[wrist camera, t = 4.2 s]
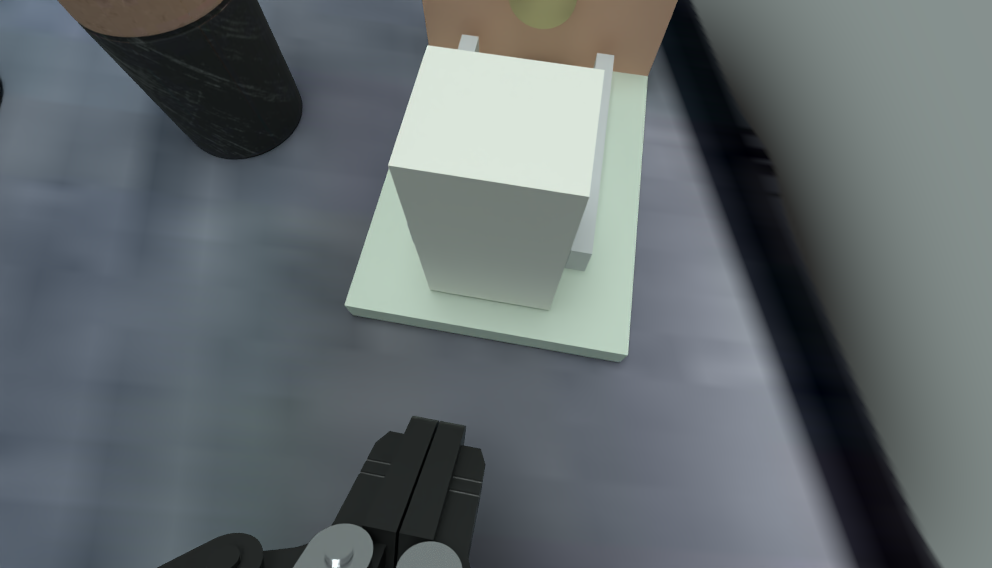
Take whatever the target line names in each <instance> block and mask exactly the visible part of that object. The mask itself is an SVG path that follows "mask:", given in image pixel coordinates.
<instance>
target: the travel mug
mask: <svg viewBox="0 0 992 568" xmlns="http://www.w3.org/2000/svg"><path fill="white" fill-rule="evenodd" d="M58 1H59V3H60V4H61V5H62V6H63V7H64V8H65V9H66V10H67V11H68V13H69V14H70V15H71V16H72V17H73V18H74V19H75V20H76V21H77V22H78V23H79V24H80V25H81V26H82V27H83V28H84V29H85V30H86V31H87V33H88V34H89V35H90V36H91V37H92V38H93V39H94V40H95V41H96V42H97V43H98V44H99V45H100V46H101V47H102V48H103V49H104V50H105V51H106V52H107V53H108V54H109V55H110V56H111V57H112V58H113V59H114V60H115V62H116V63H117V64H118V65H119V66H120V67H121V68H122V69H123V70H124V71H125V72H126V73H127V74H128V75H129V76H130V77H131V78H132V79H133V80H134V81H135V82H136V83H137V84H138V85H139V86H140V87H141V88H142V89H143V91H144V92H145V93H146V94H147V95H148V96H149V97H150V98H151V99H152V100H153V101H154V102H155V103H156V104H157V105H158V106H159V107H160V108H161V109H162V110H163V111H164V112H165V113H166V114H167V115H168V116H169V117H170V118H171V120H172V121H173V122H174V123H175V124H176V125H177V126H178V127H179V128H180V129H181V130H182V131H183V132H184V133H185V134H186V135H187V136H188V137H189V138H190V139H191V140H192V141H193V142H194V143H195V144H196V145H197V146H199V147H200V148H201V149H203V150H204V151H206V152H208V153H210V154H212V155H215V156H218V157H223V158H231V159H239V158H248V157H252V156H256V155H259V154H262V153H264V152H267V151H269V150H271V149H273V148H274V147H276V146H278V145H279V144H280V143H282V142H283V141H284V140H285V139H286V138H288V137H289V135H290V134H291V133H292V132H293V131H294V129H295V128H296V126H297V124H298V122H299V120H300V117H301V112H302V102H301V97H300V94H299V91H298V89H297V86H296V84H295V82H294V79H293V77H292V75H291V73H290V70H289V68H288V66H287V64H286V62H285V60H284V57H283V55H282V53H281V51H280V49H279V46H278V44H277V42H276V40H275V38H274V36H273V33H272V31H271V29H270V27H269V25H268V22H267V20H266V18H265V16H264V14H263V12H262V9H261V7H260V5H259V3H258V1H257V0H58Z"/></svg>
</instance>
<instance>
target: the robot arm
mask: <svg viewBox="0 0 992 568" xmlns="http://www.w3.org/2000/svg"><path fill="white" fill-rule="evenodd" d="M0 90H1V89H0ZM465 432H466V426H464V425H459V424H453V423H448V422H443V421H440V423H439V421H437V420H432V419H427V418H422V417H417V416H413V417H412V418H411V420H410V422H409V424H408V426H407V429H406V431H405V433H404V434H402V433H396V432H391V431H389V432H388V433H387V434H386V435H385V436H383V437H382V438H381V439H380V440H378V441H377V442H376V443H375V445H374V447H373V449H372V450H371V452H370V454H369V456H368V458H367V461H366V462H365V464H364V466H363V468H362V469H361V473H360V474H359V475H358V477H357V479H356V481H355V483H354V485H353V486H352V488H351V490H350V492H349V494H348V496H347V498H346V500H345V502H344V504H343V505H342V507H341V509H340V511H339V513H338V515H337V517H336V519H335V521H334V522H333V524H332V525H331V526H330V527H328V528H326V529H324V530H322V531H321V532H319V533H318V534H317V535H316V536H315V537H314V538H313V539H312V540H311V541H310V543H308V544H306V545H303V546H299V547H295V548H288V549H278V550H269V551H263V548H262V546H261V544H260V542H259V541H258V540H257V539H256V538H255V537H253V536H251V535H248V534H244V533H232V534H226V535H223V536H220V537H217V538H215V539H213V540H211V541H209V542H207V543H205V544H203V545H201V546H199V547H197V548H195V549H193V550H191V551H189V552H187V553H185V554H183V555H181V556H179V557H177V558H175V559H173V560H171V561H169V562H167V563H165V564H163V565H161V566H160V567H158V568H470V565H469V560H468V558H469V552H470V547H471V542H472V537H473V532H474V527H475V521H476V516H477V511H478V506H479V500H480V494H481V488H482V482H483V476H484V469H485V462H484V459H483V455H482V452H481V449H478V448H473V447H468V446H464V440H465Z"/></svg>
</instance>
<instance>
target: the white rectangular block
mask: <svg viewBox="0 0 992 568" xmlns="http://www.w3.org/2000/svg"><path fill="white" fill-rule="evenodd" d="M604 71H605V70H601V69H594V68H587V67H580V66H572V65H565V64H558V63H551V62H544V61H537V60H529V59H522V58H515V57H508V56H501V55H494V54H486V53H479V52H472V51H465V50H458V49H451V48H443V47H436V46H429V45H427V48H426V51H425V54H424V57H423V60H422V63H421V66H420V69H419V73H418V76H417V79H416V82H415V85H414V88H413V91H412V94H411V97H410V100H409V103H408V106H407V109H406V112H405V115H404V118H403V121H402V125H401V128H400V131H399V134H398V137H397V140H396V143H395V146H394V149H393V152H392V155H391V158H390V161H389V164H388V167H389V170H390V172H391V175H392V178H393V181H394V184H395V187H396V190H397V193H398V196H399V199H400V202H401V205H402V208H403V211H404V214H405V217H406V220H407V223H408V226H409V229H410V232H411V235H412V238H413V241H414V244H415V247H416V250H417V253H418V256H419V259H420V262H421V265H422V268H423V271H424V274H425V277H426V280H427V283H428V286H429V289H430V290H434V291H440V292H446V293H451V294H457V295H463V296H469V297H475V298H480V299H486V300H492V301H498V302H504V303H509V304H515V305H521V306H527V307H533V308H539V309H544V310H550V307H551V304H552V301H553V299H554V296H555V293H556V290H557V287H558V284H559V282H560V279H561V276H562V273H563V270H564V267H565V265H566V262H567V259H568V256H569V253H570V250H571V248H572V245H573V242H574V239H575V236H576V233H577V231H578V228H579V225H580V222H581V219H582V216H583V214H584V211H585V208H586V205H587V202H588V199H589V196H590V187H591V179H592V171H593V163H594V154H595V146H596V138H597V129H598V121H599V113H600V104H601V96H602V88H603V79H604Z"/></svg>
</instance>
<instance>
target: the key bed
mask: <svg viewBox="0 0 992 568" xmlns="http://www.w3.org/2000/svg"><path fill="white" fill-rule="evenodd" d="M677 1H678V0H422V2H423V8H424V15H425V22H426V29H427V36H428V43H429V46H436V47H443V48H451V49H458V50H465V51H472V52H479V53H486V54H494V55H501V56H508V57H515V58H522V59H529V60H537V61H544V62H551V63H558V64H565V65H572V66H580V67H587V68H594V69H601V70H605V71H604V79H603V88H602V96H601V104H600V113H599V121H598V129H597V138H596V146H595V154H594V163H593V171H592V179H591V187H590V196H589V199H588V202H587V205H586V208H585V211H584V214H583V216H582V219H581V222H580V225H579V228H578V231H577V233H576V236H575V239H574V242H573V245H572V248H571V250H570V253H569V256H568V259H567V262H566V265H565V267H564V270H563V273H562V276H561V279H560V282H559V284H558V287H557V290H556V293H555V296H554V299H553V301H552V304H551V307H550V310H544V309H539V308H533V307H527V306H521V305H515V304H509V303H504V302H498V301H492V300H486V299H480V298H475V297H469V296H463V295H457V294H451V293H446V292H440V291H434V290H430V289H429V286H428V283H427V280H426V277H425V274H424V271H423V268H422V265H421V262H420V259H419V256H418V253H417V250H416V247H415V244H414V241H413V238H412V235H411V232H410V229H409V226H408V223H407V220H406V217H405V214H404V211H403V208H402V205H401V202H400V199H399V196H398V193H397V190H396V187H395V184H394V181H393V178H392V175H391V172H390V170H388V173H387V176H386V179H385V182H384V185H383V189H382V192H381V195H380V198H379V201H378V204H377V207H376V210H375V213H374V216H373V219H372V222H371V226H370V229H369V232H368V235H367V238H366V241H365V244H364V247H363V250H362V253H361V256H360V259H359V262H358V266H357V269H356V272H355V275H354V278H353V281H352V284H351V287H350V290H349V293H348V296H347V299H346V302H345V307H346V308H347V309H348V310H349V311H350V312H351V313H352V315H355V316H361V317H367V318H372V319H378V320H383V321H389V322H395V323H400V324H406V325H412V326H417V327H423V328H429V329H434V330H440V331H446V332H451V333H457V334H462V335H468V336H474V337H479V338H485V339H491V340H496V341H502V342H508V343H513V344H519V345H525V346H530V347H536V348H541V349H547V350H553V351H558V352H564V353H570V354H575V355H581V356H587V357H592V358H598V359H603V360H609V361H615V362H621V361H622V360H623V359H624V358H625V357H626V356H628V345H629V331H630V317H631V303H632V289H633V276H634V262H635V248H636V234H637V220H638V206H639V192H640V178H641V164H642V150H643V136H644V122H645V108H646V94H647V80H648V74H649V72H650V69H651V67H652V64H653V62H654V59H655V57H656V54H657V52H658V49H659V46H660V44H661V41H662V39H663V36H664V34H665V31H666V29H667V26H668V23H669V21H670V18H671V16H672V13H673V11H674V8H675V6H676V3H677Z"/></svg>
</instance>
